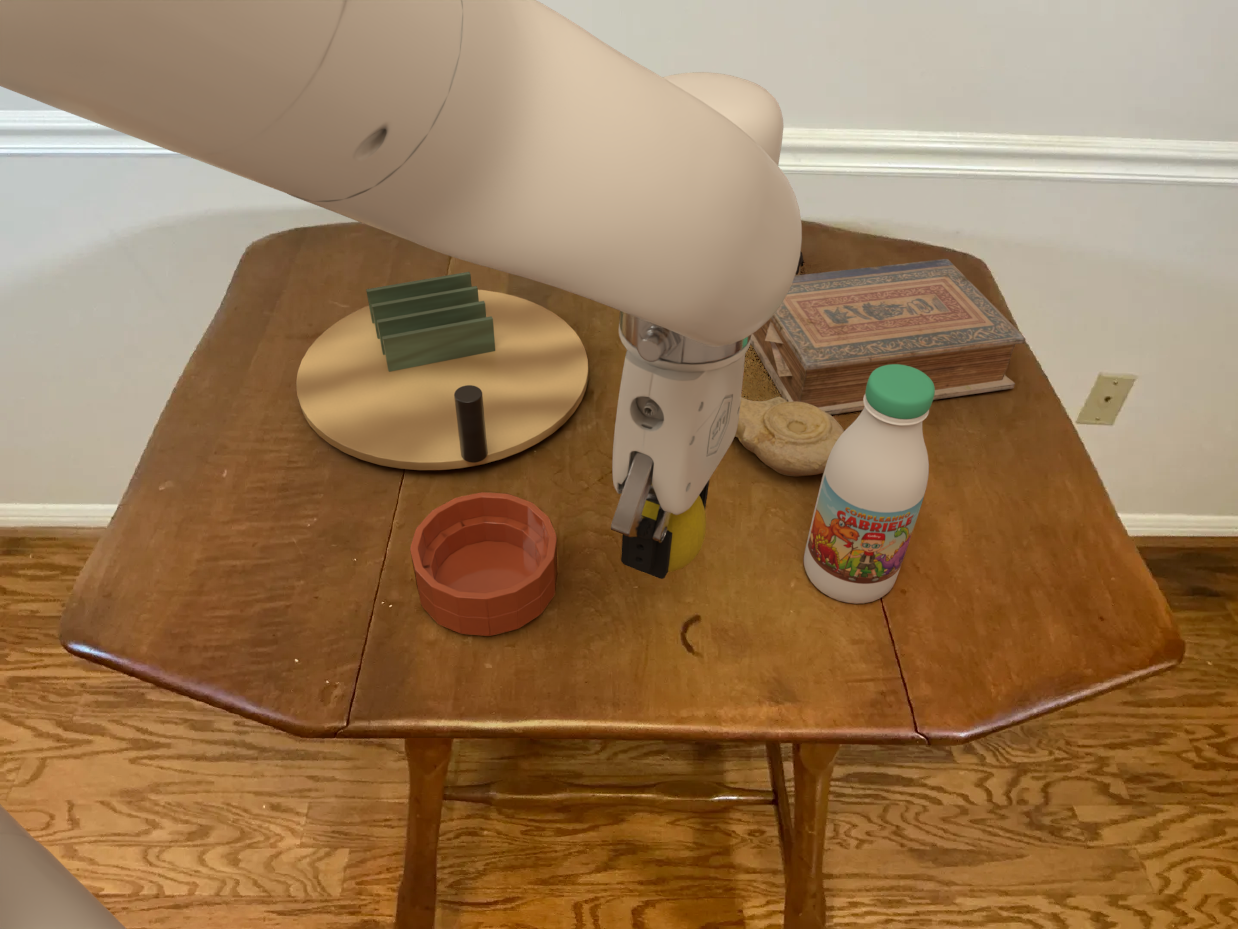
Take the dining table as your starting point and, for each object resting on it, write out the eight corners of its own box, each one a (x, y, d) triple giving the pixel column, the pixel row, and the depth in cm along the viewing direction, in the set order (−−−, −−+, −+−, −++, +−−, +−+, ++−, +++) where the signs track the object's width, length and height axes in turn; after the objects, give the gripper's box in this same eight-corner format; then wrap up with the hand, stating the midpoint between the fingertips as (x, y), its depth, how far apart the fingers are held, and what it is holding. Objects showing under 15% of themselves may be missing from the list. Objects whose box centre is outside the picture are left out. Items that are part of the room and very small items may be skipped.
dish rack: (633, 434, 90) (636, 366, 84) (321, 507, 82) (302, 437, 76) (539, 277, 110) (537, 214, 105) (282, 323, 102) (265, 257, 97)
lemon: (623, 596, 64) (628, 511, 59) (620, 537, 68) (625, 453, 63) (704, 596, 65) (716, 512, 59) (696, 537, 69) (707, 454, 63)
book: (1032, 337, 93) (795, 368, 89) (1012, 391, 98) (786, 424, 93) (949, 253, 106) (737, 276, 101) (934, 304, 110) (730, 329, 106)
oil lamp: (693, 412, 94) (697, 372, 91) (837, 422, 94) (847, 382, 90) (691, 486, 86) (696, 445, 83) (849, 496, 86) (860, 456, 83)
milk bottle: (790, 542, 82) (831, 353, 68) (874, 532, 83) (931, 344, 69) (820, 612, 76) (871, 421, 62) (910, 600, 77) (979, 410, 64)
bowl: (512, 660, 72) (508, 619, 68) (390, 607, 75) (381, 565, 72) (580, 561, 79) (580, 520, 76) (467, 517, 83) (462, 476, 79)
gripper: (689, 416, 46) (662, 649, 58) (798, 262, 57) (758, 482, 69) (553, 371, 48) (554, 604, 60) (685, 232, 60) (664, 450, 72)
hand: (664, 536), depth 65 cm, fingers closed on lemon, 5 cm apart
